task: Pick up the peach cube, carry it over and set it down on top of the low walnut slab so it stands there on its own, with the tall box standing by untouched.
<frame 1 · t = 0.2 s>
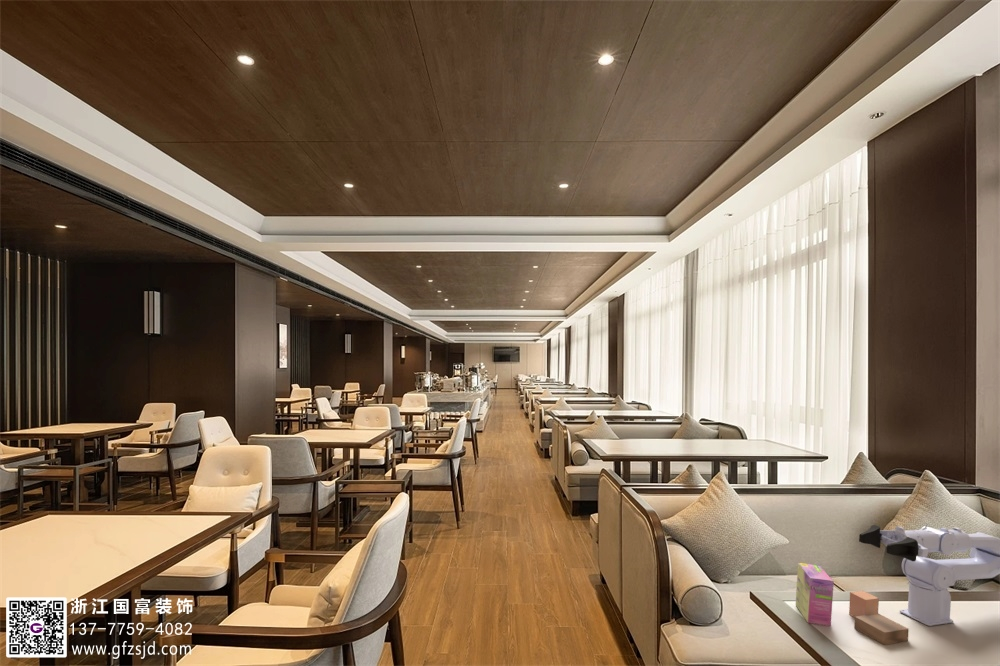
hand: (873, 543, 148), 21 cm above the table, tool horizontal, fingers open, 7 cm apart
peach cube: (863, 617, 152), on the table
walnut slab: (880, 634, 143), on the table
box: (812, 616, 151), on the table
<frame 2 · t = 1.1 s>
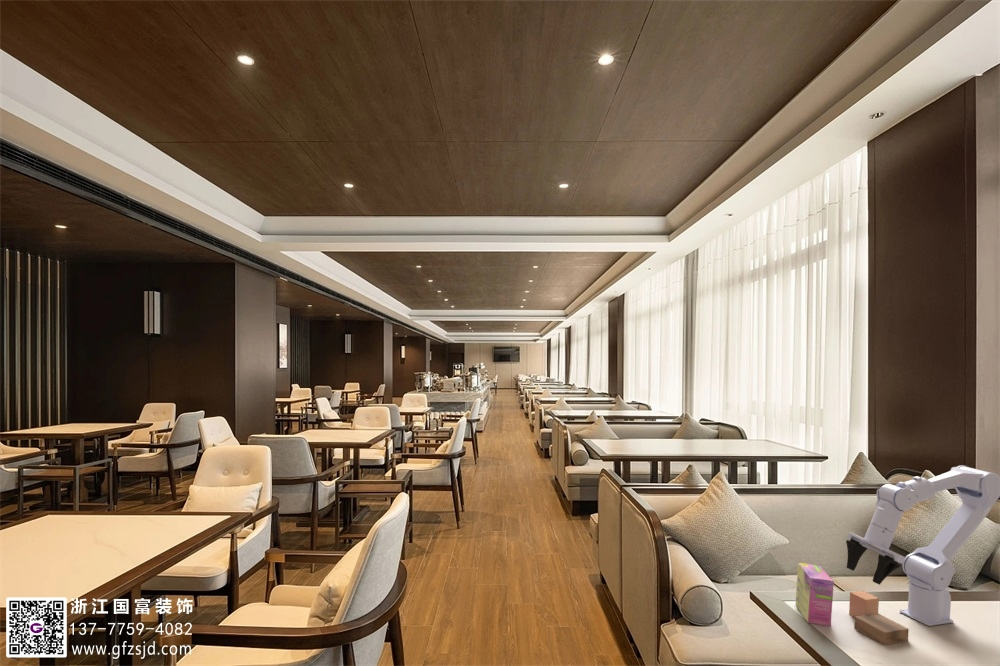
hand: (862, 576, 151), 11 cm above the table, tool tilted 20°, fingers open, 7 cm apart
nothing on the table moved.
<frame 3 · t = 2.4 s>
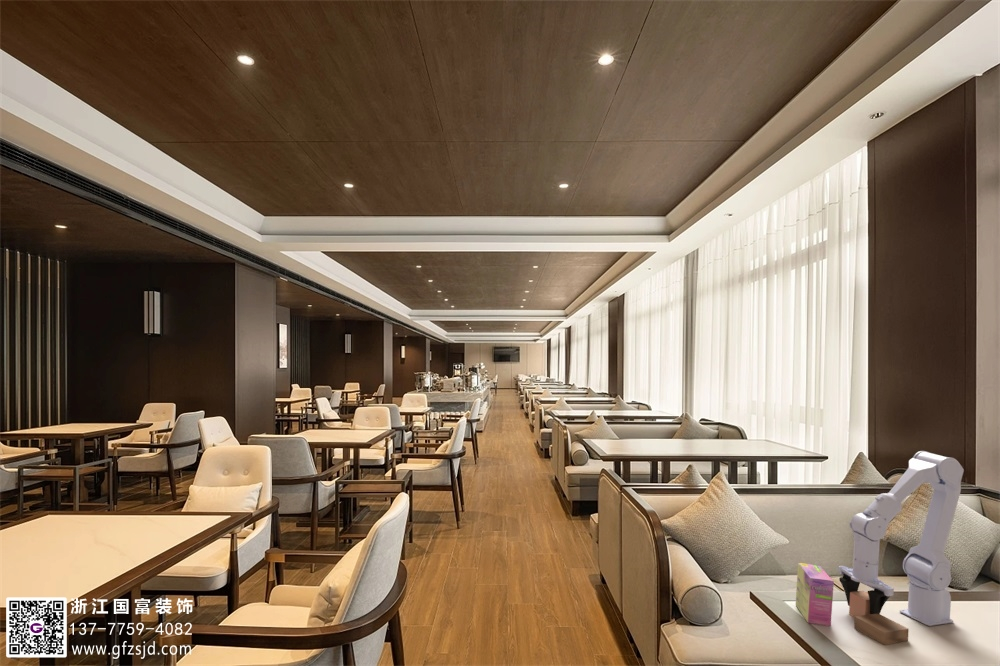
hand: (863, 611, 152), 2 cm above the table, tool pointing down, fingers open, 6 cm apart
nothing on the table moved.
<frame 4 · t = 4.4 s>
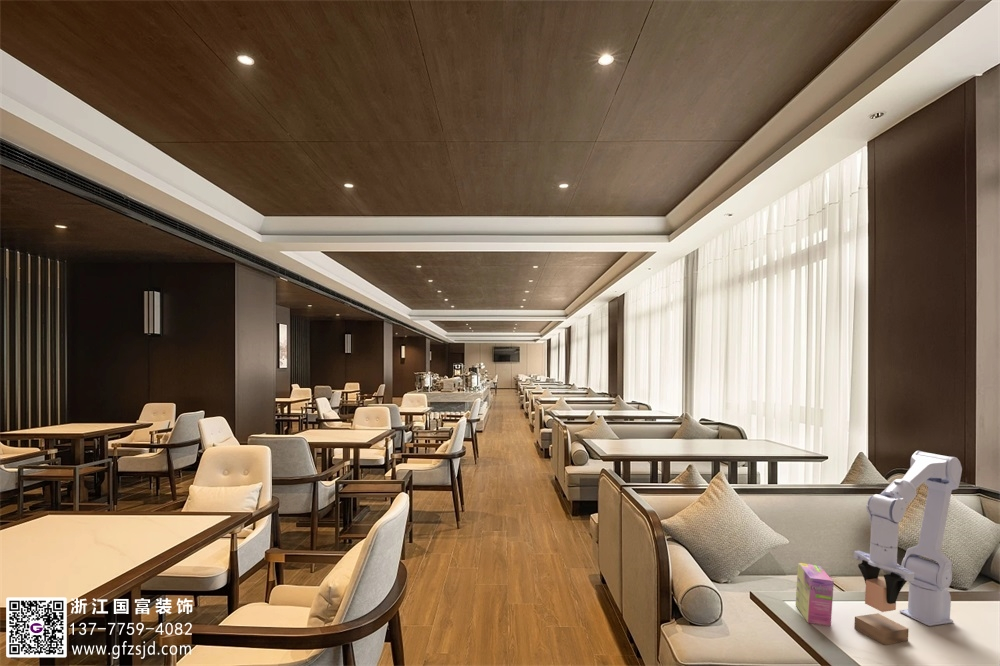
hand: (881, 598, 143), 9 cm above the table, tool pointing down, fingers closed on peach cube, 5 cm apart
peach cube: (880, 606, 143), point 7 cm above the table, touching gripper
everything else where it was.
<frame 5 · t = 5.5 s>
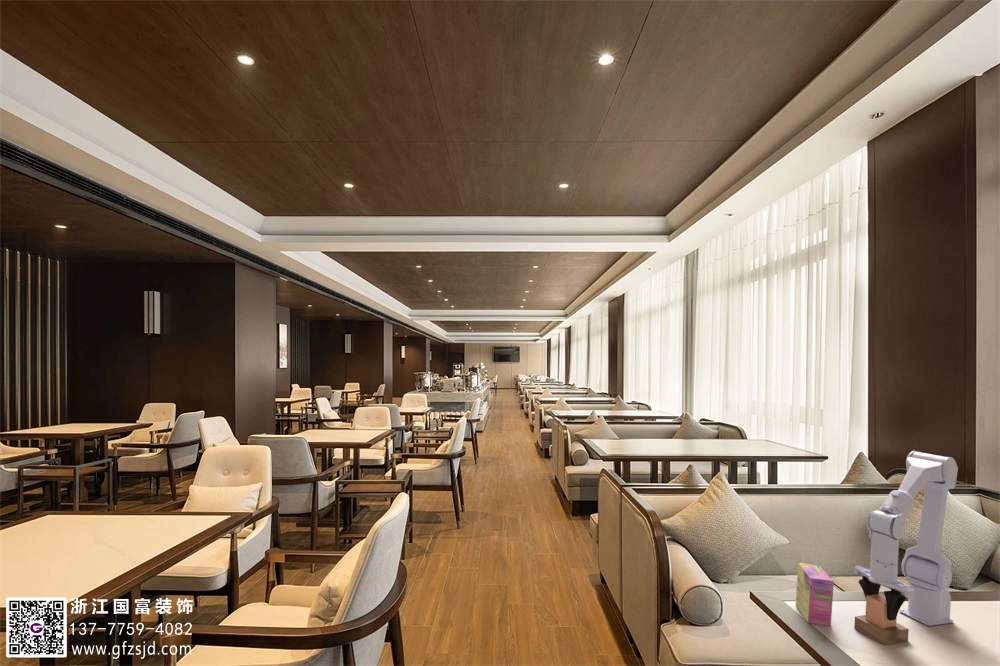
hand: (881, 614, 143), 5 cm above the table, tool pointing down, fingers closed on peach cube, 4 cm apart
peach cube: (880, 622, 143), point 3 cm above the table, touching gripper, walnut slab
everything else where it was.
when the fingers open (5 cm above the table, at t = 5.8 s): peach cube stays where it is, resting on walnut slab.
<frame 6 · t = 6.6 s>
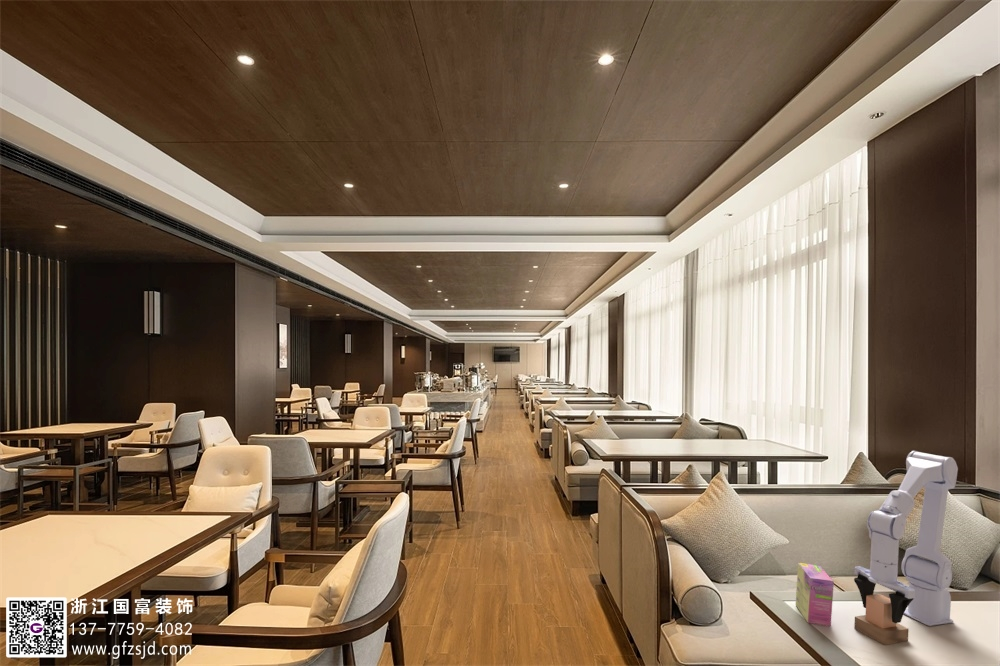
hand: (881, 614, 143), 5 cm above the table, tool pointing down, fingers open, 7 cm apart
peach cube: (880, 622, 143), point 3 cm above the table, touching walnut slab
everything else where it was.
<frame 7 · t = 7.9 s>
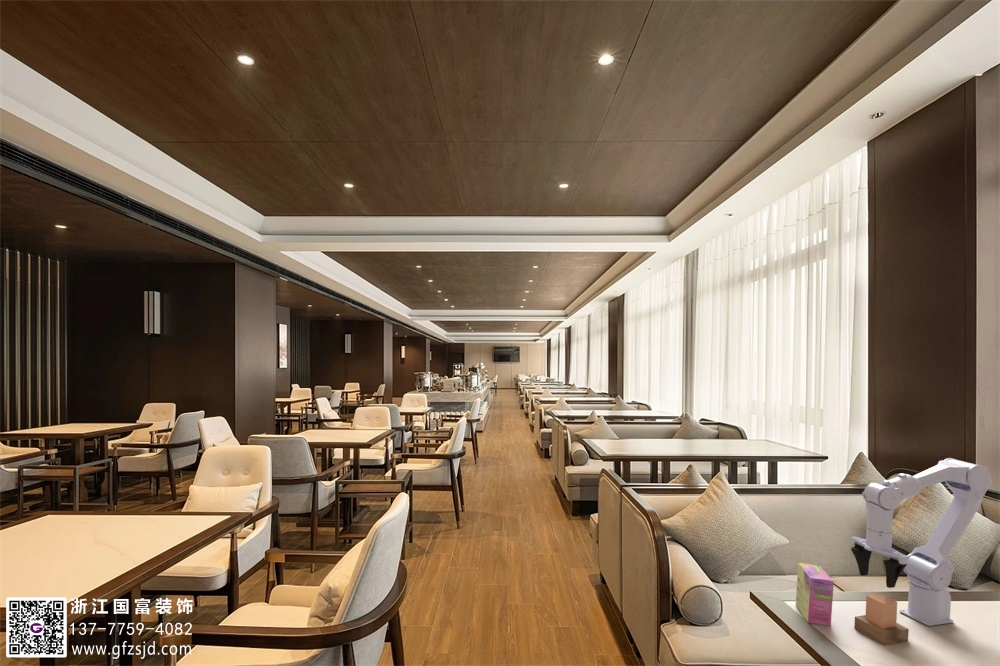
hand: (876, 580, 152), 10 cm above the table, tool pointing down, fingers open, 7 cm apart
nothing on the table moved.
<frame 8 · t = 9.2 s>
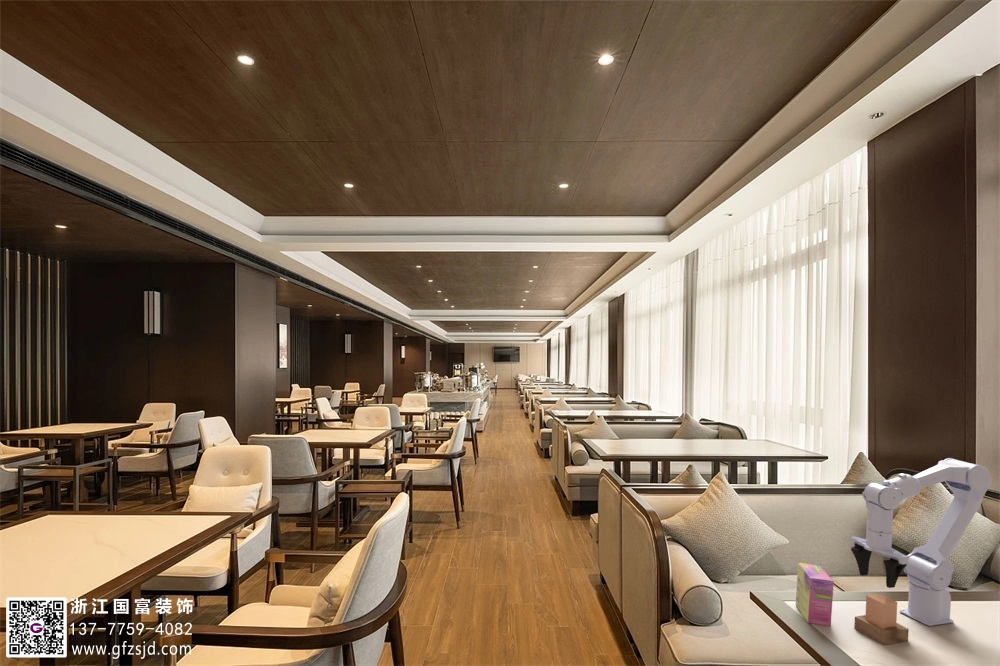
hand: (876, 580, 152), 10 cm above the table, tool pointing down, fingers open, 7 cm apart
nothing on the table moved.
at the end: peach cube 0.2 cm off-centre on the walnut slab, point 3.0 cm above the walnut slab's base; peach cube tilted 0°; peach cube touching walnut slab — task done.
